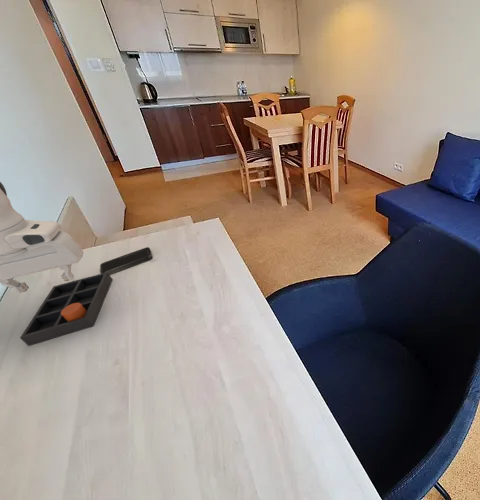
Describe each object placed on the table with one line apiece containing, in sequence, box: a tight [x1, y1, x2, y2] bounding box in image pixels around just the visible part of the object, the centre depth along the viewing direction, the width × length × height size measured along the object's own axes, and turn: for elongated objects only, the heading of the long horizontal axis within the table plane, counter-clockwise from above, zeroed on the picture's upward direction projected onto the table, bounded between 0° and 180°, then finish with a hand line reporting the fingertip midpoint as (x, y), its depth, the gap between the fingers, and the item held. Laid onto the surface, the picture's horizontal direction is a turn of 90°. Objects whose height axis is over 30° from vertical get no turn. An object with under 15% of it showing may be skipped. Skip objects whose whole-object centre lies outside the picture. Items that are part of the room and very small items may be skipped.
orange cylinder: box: [61, 303, 87, 322], centre depth 80 cm, size 4×4×4 cm
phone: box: [99, 246, 153, 276], centre depth 103 cm, size 8×1×15 cm
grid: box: [19, 272, 114, 347], centre depth 85 cm, size 14×21×3 cm
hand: (47, 284), depth 74 cm, fingers open, 8 cm apart
